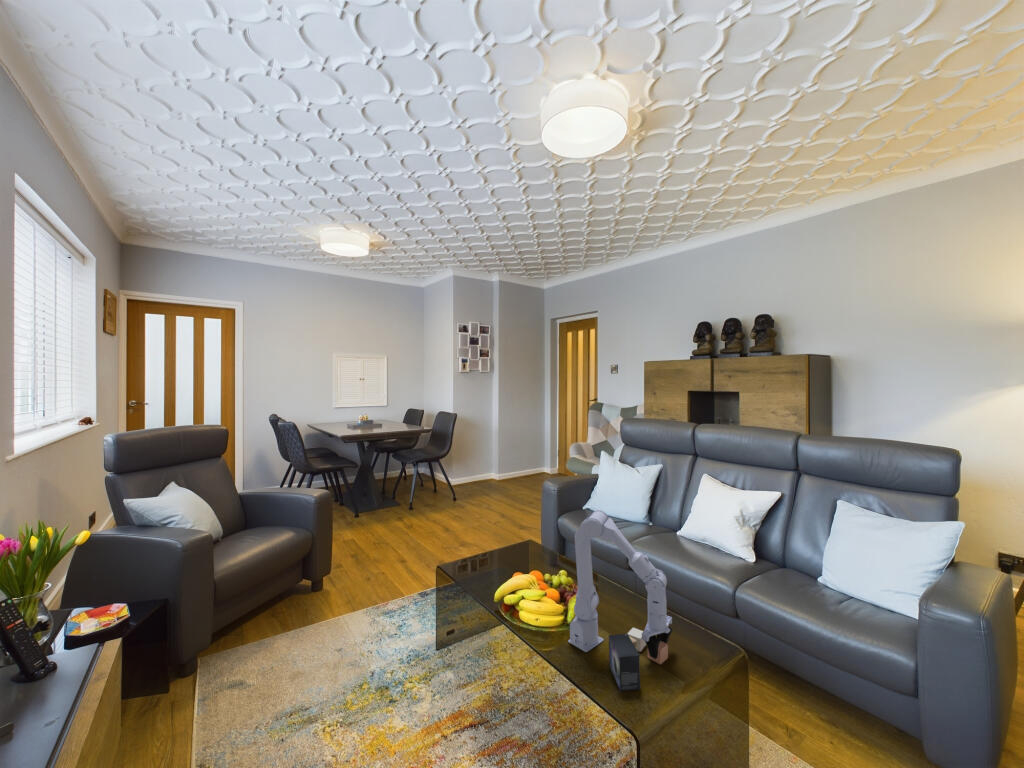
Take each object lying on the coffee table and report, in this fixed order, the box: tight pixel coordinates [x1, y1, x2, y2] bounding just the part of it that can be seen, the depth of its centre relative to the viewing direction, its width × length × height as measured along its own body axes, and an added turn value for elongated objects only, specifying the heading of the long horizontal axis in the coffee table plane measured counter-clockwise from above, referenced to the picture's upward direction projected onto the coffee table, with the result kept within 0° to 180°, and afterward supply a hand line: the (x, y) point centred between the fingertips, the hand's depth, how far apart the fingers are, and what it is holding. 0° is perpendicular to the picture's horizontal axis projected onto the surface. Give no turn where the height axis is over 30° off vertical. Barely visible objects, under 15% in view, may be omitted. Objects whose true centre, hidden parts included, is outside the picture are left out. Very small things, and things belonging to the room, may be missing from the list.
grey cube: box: [626, 627, 647, 653], centre depth 148 cm, size 4×4×4 cm
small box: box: [608, 633, 642, 692], centre depth 133 cm, size 11×6×10 cm, turn 5°
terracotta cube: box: [646, 641, 669, 665], centre depth 142 cm, size 4×4×4 cm
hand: (657, 653), depth 142 cm, fingers closed on terracotta cube, 4 cm apart
